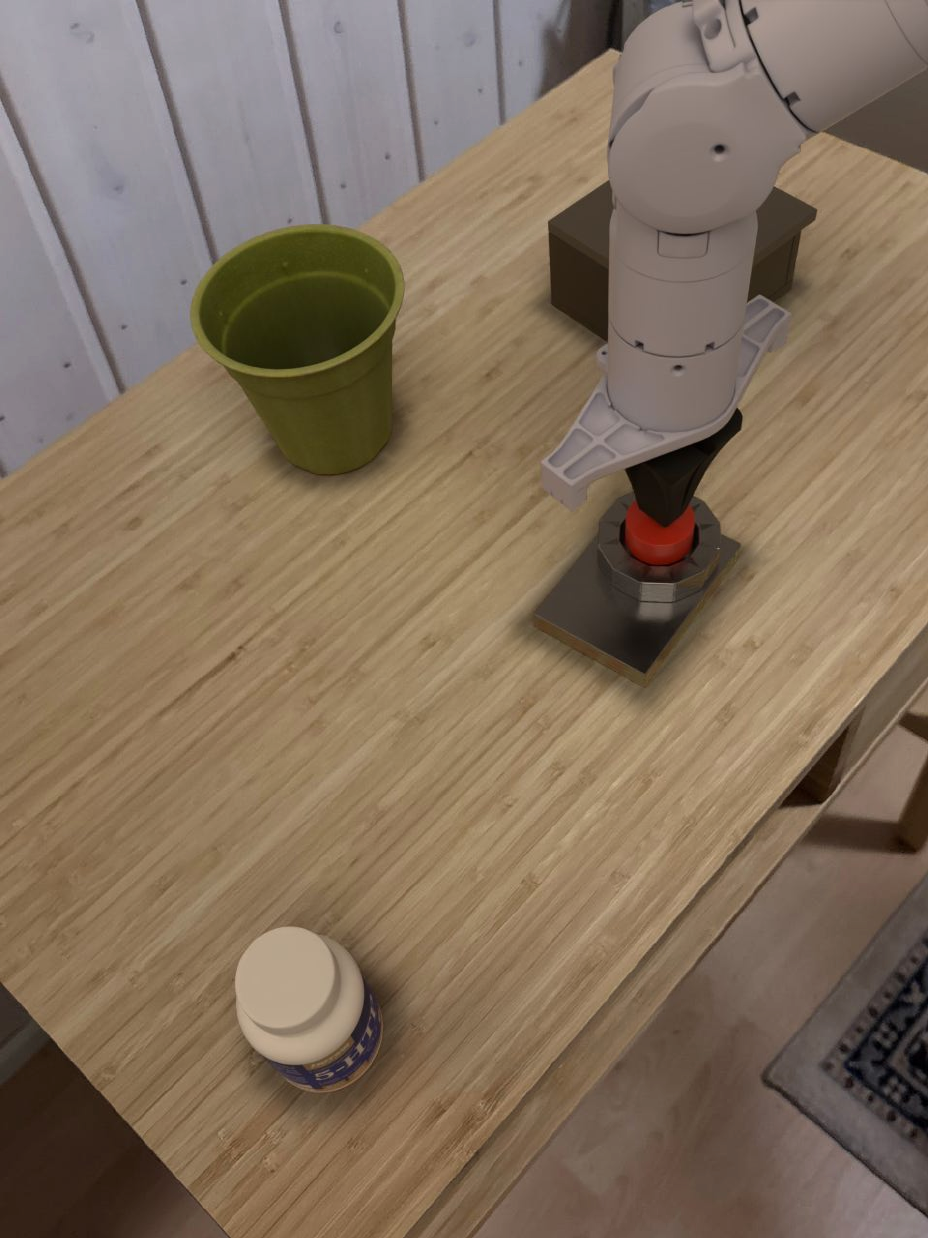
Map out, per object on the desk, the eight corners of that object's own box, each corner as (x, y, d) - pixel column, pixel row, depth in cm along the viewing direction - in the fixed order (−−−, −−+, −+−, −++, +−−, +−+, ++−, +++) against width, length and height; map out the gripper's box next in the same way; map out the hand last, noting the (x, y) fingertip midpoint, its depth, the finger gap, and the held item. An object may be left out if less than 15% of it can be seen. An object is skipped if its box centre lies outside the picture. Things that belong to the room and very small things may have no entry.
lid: (815, 220, 70) (817, 208, 69) (684, 318, 66) (685, 307, 66) (676, 144, 75) (676, 132, 74) (547, 231, 71) (547, 220, 71)
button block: (633, 501, 67) (635, 468, 64) (741, 554, 64) (747, 521, 61) (533, 626, 63) (531, 595, 60) (644, 688, 60) (646, 658, 57)
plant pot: (207, 430, 73) (150, 292, 64) (359, 340, 76) (326, 195, 67) (308, 541, 67) (261, 408, 58) (467, 439, 70) (448, 296, 61)
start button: (647, 502, 63) (648, 481, 62) (705, 530, 62) (707, 509, 60) (612, 546, 62) (612, 526, 60) (670, 576, 60) (672, 556, 59)
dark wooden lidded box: (791, 288, 75) (805, 214, 70) (669, 383, 71) (674, 311, 67) (671, 218, 80) (675, 144, 75) (550, 303, 76) (548, 232, 71)
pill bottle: (341, 1118, 50) (297, 1075, 42) (246, 1054, 52) (189, 1003, 44) (407, 1009, 52) (376, 950, 45) (314, 952, 54) (269, 886, 46)
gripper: (720, 187, 52) (697, 397, 64) (486, 353, 48) (506, 546, 59) (845, 256, 49) (798, 464, 61) (607, 441, 45) (604, 628, 56)
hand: (660, 510), depth 60 cm, fingers closed
